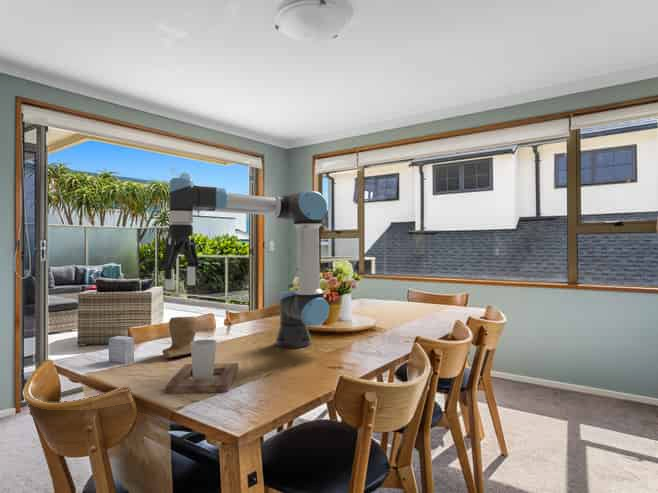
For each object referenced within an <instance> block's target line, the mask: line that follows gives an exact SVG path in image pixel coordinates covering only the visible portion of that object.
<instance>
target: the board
mask: <svg viewBox="0 0 658 493" xmlns="http://www.w3.org/2000/svg"><path fill="white" fill-rule="evenodd" d="M238 370H239V362H222V363H216V362H214V373H213V375H220V377H219V378H213V379H193V378H192V379H190V377H191V376H193V372H192V363H185V364H184V365H183V366H182V367H180V369H179V370H178V372H176V373H175V375H174V376H173V377H171V379H170V380H169V381H168V383H166V384H165V386H164V394H184V393H185V392H188V393H190V392H193V393H220V392H221V393H227V392H229V390H230V388H231V387H232V386H231V385H232V383H233V382H234V380H235V378H236V375H237V372H238ZM188 393H187V394H188ZM185 394H186V393H185Z"/></svg>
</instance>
